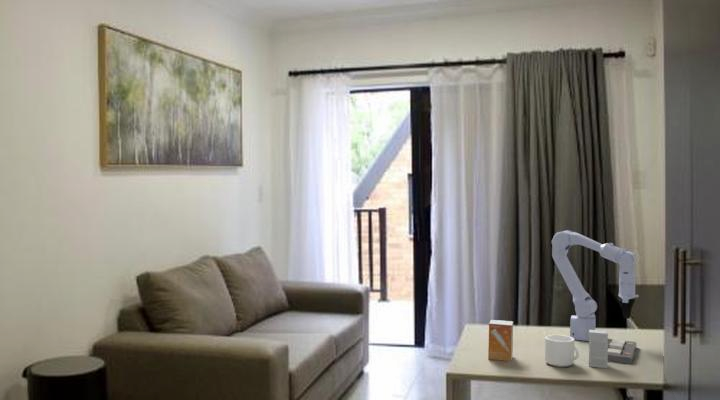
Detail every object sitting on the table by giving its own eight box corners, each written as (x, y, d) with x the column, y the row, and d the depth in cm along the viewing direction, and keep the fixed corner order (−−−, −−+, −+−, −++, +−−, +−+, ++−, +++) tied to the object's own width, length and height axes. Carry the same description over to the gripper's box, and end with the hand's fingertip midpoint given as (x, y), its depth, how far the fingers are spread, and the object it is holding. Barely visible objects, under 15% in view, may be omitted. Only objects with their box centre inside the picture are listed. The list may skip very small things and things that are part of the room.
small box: (488, 359, 226) (488, 323, 226) (490, 354, 232) (490, 319, 232) (511, 361, 224) (512, 325, 223) (512, 356, 230) (513, 320, 229)
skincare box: (607, 365, 221) (607, 330, 220) (607, 368, 216) (608, 333, 216) (588, 363, 222) (589, 329, 222) (588, 366, 218) (589, 332, 218)
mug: (586, 365, 220) (587, 339, 220) (570, 371, 213) (571, 344, 213) (555, 357, 229) (555, 332, 229) (539, 363, 222) (539, 337, 222)
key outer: (606, 358, 227) (607, 351, 227) (608, 354, 231) (608, 348, 231) (620, 359, 225) (620, 353, 225) (621, 356, 229) (621, 349, 229)
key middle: (609, 351, 234) (609, 344, 233) (610, 348, 237) (610, 342, 237) (622, 353, 231) (622, 346, 231) (623, 349, 235) (623, 343, 235)
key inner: (611, 348, 240) (611, 342, 240) (612, 345, 244) (612, 339, 244) (623, 349, 238) (624, 343, 238) (625, 346, 242) (625, 340, 241)
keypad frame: (594, 359, 227) (594, 352, 227) (602, 343, 247) (602, 337, 247) (631, 364, 222) (631, 357, 221) (636, 347, 242) (636, 341, 242)
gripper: (637, 286, 236) (636, 323, 237) (639, 281, 249) (639, 315, 250) (616, 285, 240) (616, 321, 240) (620, 279, 253) (620, 313, 253)
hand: (626, 318), depth 245 cm, fingers closed
